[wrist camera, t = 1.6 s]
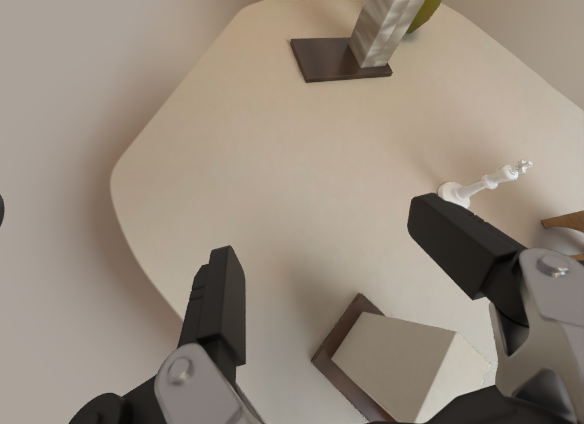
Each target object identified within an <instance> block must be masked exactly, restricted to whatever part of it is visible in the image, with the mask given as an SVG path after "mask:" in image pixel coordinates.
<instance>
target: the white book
mask: <svg viewBox="0 0 584 424" xmlns="http://www.w3.org/2000/svg"><path fill="white" fill-rule="evenodd" d="M331 360H332V361H333V362H334V363H335V364H336V365H337V366H338V367H339V368H340V369H341V370H342V371H343V372H344V373H345V374H346V375H347V376H348V377H349V378H350V379H351V380H352V381H353V382H354V383H356V384H357V385H358V386H359V387H360V388H361V389H362V390H363V391H364V392H365V393H367V394H368V395H369V396H370V397H371V398H372V399H373V400H374V401H375V402H376V403H377V404H379V405H380V406H381V407H382V408H383V409H384V410H385V411H386V412H387V413H388V414H390V415H391V416H392V417H393V418H394V419H395V420H396V421H397V422H404V423H425V422H427V421H428V420H430V419H431V418H432V417H433V416H434V415H435V414H437V413H438V412H439V411H440V410H441V409H442V408H444V407H445V406H446V405H447V404H448V403H450V402H451V401H452V400H453V399H454V398H455V397H457V396H459V395H463V394H466V393H469V392H473V391H476V390H479V389H481V387H482V384H483V381H484V379H485V376H486V373H487V371H488V368H489V365H490V362H489V361H488V360H487V359H486V358H485V357H483V356H482V355H481V354H480V353H479V352H478V351H477V350H476V349H475V348H474V347H473V346H472V345H470V344H469V343H468V342H467V341H466V340H465V339H464V338H463V337H462V336H461V335H460V334H459V333H457V332H456V331H451V330H447V329H442V328H437V327H433V326H428V325H423V324H418V323H414V322H409V321H404V320H400V319H395V318H390V317H386V316H381V315H376V314H372V313H367V312H362V314H361V315H360V317H359V318H358V320H357V321H356V322H355V324H354V325H353V327H352V328H351V330H350V331H349V333H348V334H347V336H346V337H345V339H344V340H343V342H342V343H341V345H340V346H339V348H338V349H337V351H336V352H335V354H334V355H333V357H332V358H331Z"/></svg>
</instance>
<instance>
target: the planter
mask: <svg viewBox="0 0 584 424" xmlns="http://www.w3.org/2000/svg"><path fill="white" fill-rule="evenodd" d="M541 221H542V223H543V225H544V227H545V228H549V227H565V228H571V229H575V230H578V231H581V232H583V233H584V211H579V212H575V213H571V214H566V215H562V216H558V217H553V218H549V219H545V220H541ZM569 257H571V258H573V259H574V260H584V254H580V255H571V256H569Z"/></svg>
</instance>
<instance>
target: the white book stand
mask: <svg viewBox="0 0 584 424" xmlns="http://www.w3.org/2000/svg"><path fill="white" fill-rule="evenodd" d="M424 1H425V0H365V3H364V5H363V8H362V10H361V13H360V15H359V18H358V20H357V23H356V25H355V28H354V30H353V33H352V35H351V38H311V39H291V42H290V44H291V46H292V49H293V51H294V54H295V56H296V59H297V61H298V63H299V66H300V68H301V71H302V73H303V76H304V78H305V81H306V83H308V82H320V81H333V80H346V79H359V78H371V77H384V76H391V74H392V73H393V72H392V70H391V68H390V66H389V64H388V63H387V62H388V60H389V59H390V57H391V55H392V54H393V52H394V51H395V49H396V47H397V46H398V44H399V42H400V41H401V39H402V37H403V36H404V34H405V32H406V31H407V29H408V28H409V26H410V24H411V23H412V21H413V19H414V18H415V16H416V14H417V13H418V11H419V9H420V8H421V6H422V5H423V3H424Z"/></svg>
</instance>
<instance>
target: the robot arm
mask: <svg viewBox="0 0 584 424" xmlns="http://www.w3.org/2000/svg"><path fill="white" fill-rule="evenodd" d="M407 228H408V232H409V234H410V236H411V237H412V238H413V239H414V240H415V241H416V242H417V243H418V245H419V246H420V247H421V248H422V249H423V250H424V251H425V252H426V253H427V254H428V255H429V256H430V257H431V258H432V259H433V260H434V261H435V262H436V263H437V264H438V265H439V266H440V267H441V268H442V269H443V270H444V271H445V272H446V274H447V275H448V276H449V277H450V278H451V279H452V280H453V281H454V282H455V283H456V284H457V285H458V286H459V287H460V288H461V289H462V290H463V291H464V292H465V293H466V294H467V295H468V296H469V297H470V298H471V299H472V300H476V299H479V298H483V297H487V298H488V299H489V300H490V301H491V302H490V303H489V312H490V317H491V323H492V328H493V333H494V339H495V344H496V350H497V355H498V368H497V371H496V378H495V385H492V386H489V387H486V388H482V389H479V390H476V391H473V392H469V393H466V394H463V395H459V396H457V397H455V398H454V399H453V400H452V401H451V402H450V403H448V404H447V405H446V406H445V407H444V408H442V409H441V410H440V411H439V412H438V413H437V414H435V415H434V416H433V417H432V418H431V419H430V420H428V421H427V422H425V423H404V422H388V421H374V422H370V423H367V424H584V260H574V259H573V258H571V257H569V256H567V255H565V254H562V253H559V252H556V251H553V250H549V249H543V248H530V249H528V248H526V247H525V246H523V245H521V244H520V243H518V242H517V241H515V240H514V239H512V238H511V237H509V236H508V235H506V234H505V233H503V232H501V231H500V230H498V229H497V228H495V227H494V226H492V225H491V224H489V223H488V222H484V220H483V219H481V218H480V217H478V216H477V215H474V213H472V212H471V211H469V210H468V209H466V208H465V207H463V206H461V205H458V204H455V203H452V202H450V201H445V200H444V199H442V198H441V197H439V196H438V195H437V194H435V193H428V194H425V195H421V196H417V197H414V198H413V199H412V200H411V205H410V211H409V217H408V223H407ZM189 300H190V301H189V302H188V306H187V310H186V315H185V319H184V323H183V327H182V332H181V336H180V340H179V344H178V347H177V349H176V350H175V351H174V352H172V353H171V354H170V355H169V356H168V357H167V359H166V360H165V361H164V362H163V364H162V365H161V367H160V369H159V371H158V374H156V375H155V376H154V377H152V378H151V379H149V380H148V381H146V382H145V383H143V384H141V385H140V386H138V387H137V388H135V389H133V390H132V391H130V392H129V393H127V394H126V395H124V396H122V397H121V396H118V395H116V394H114V393H105V394H102V395H100V396H97V397H96V398H94V399H92V400H91V401H90V402H88V403H87V404H86V405H85V406H84V407H82V408H81V409H80V410H79V412H77V414H76V415H75V416H74V417H73V418H72V419H71V421H70V422H69V424H266V423H265V421H264V420H263V419H262V417H261V416H260V415H259V413H258V412H257V410H256V409H255V408H254V406H253V405H252V404H251V402H250V401H249V399H248V398H247V397H246V395H245V394H244V392H243V391H242V390H241V388H240V387H239V386H238V384H237V383H236V382H235V381H236V367H237V366H241V365H244V364H246V295H245V275H244V271H243V269H242V266H241V264H240V262H239V260H238V258H237V256H236V254H235V252H234V250H233V248H232V247H231V246H230V245H229V246H225V247H221V248H218V249H214V250H212V251H211V254H210V260H209V264H206V265H202V266H201V268H200V269H199V271H198V272H197V274H196V275H195V277H194V281H193V285H192V291H191V294H190V298H189Z"/></svg>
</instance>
